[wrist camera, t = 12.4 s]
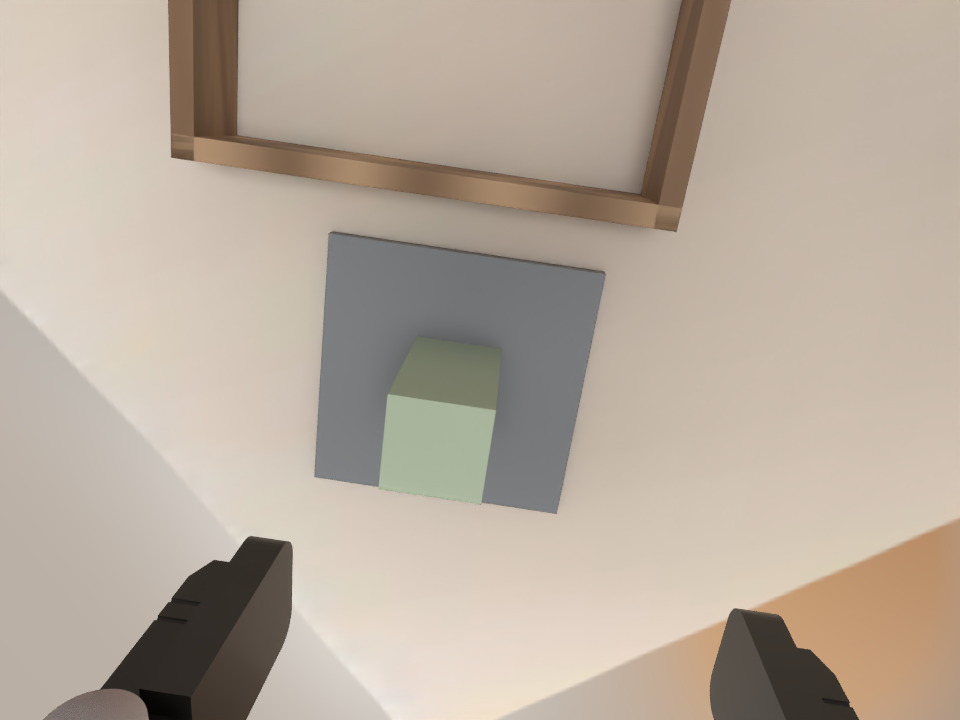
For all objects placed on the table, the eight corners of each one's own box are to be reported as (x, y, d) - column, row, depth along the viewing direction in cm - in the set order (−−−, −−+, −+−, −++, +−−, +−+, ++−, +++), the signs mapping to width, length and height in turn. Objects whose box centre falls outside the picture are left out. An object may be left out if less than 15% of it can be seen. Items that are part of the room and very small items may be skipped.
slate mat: (604, 271, 34) (605, 274, 33) (556, 508, 38) (556, 513, 38) (332, 231, 34) (328, 233, 33) (317, 471, 39) (314, 477, 38)
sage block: (501, 349, 35) (496, 410, 27) (489, 426, 36) (481, 504, 29) (416, 336, 35) (387, 394, 27) (408, 414, 36) (378, 488, 29)
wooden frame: (731, -116, 28) (768, -159, 24) (656, 218, 33) (676, 231, 28) (217, -188, 28) (163, -244, 24) (216, 153, 33) (171, 157, 29)
